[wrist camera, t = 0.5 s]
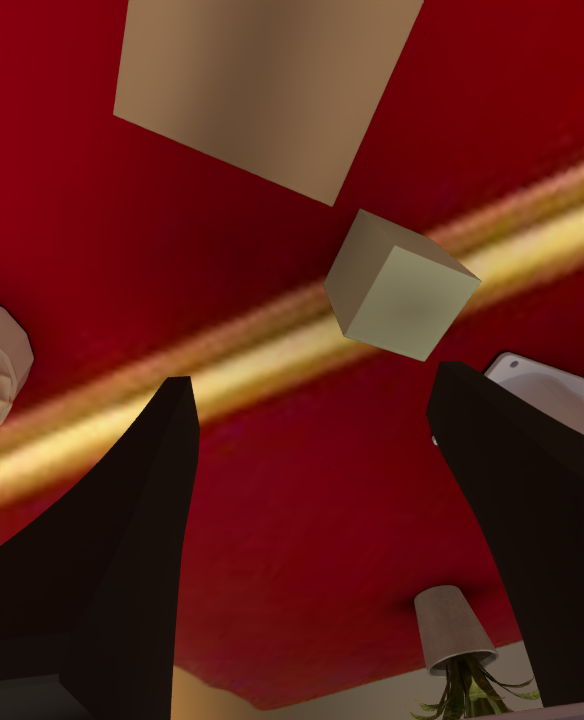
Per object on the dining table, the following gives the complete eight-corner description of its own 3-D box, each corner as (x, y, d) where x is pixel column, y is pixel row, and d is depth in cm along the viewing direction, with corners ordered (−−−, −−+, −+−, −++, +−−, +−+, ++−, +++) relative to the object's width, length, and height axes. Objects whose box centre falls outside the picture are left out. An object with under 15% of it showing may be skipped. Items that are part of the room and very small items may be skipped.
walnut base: (415, -42, 13) (454, -69, 11) (319, 189, 17) (332, 206, 15) (183, -201, 11) (167, -282, 9) (133, 109, 15) (113, 114, 13)
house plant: (480, 540, 37) (615, 797, 23) (527, 584, 44) (652, 802, 30) (356, 597, 41) (411, 843, 28) (417, 629, 48) (484, 837, 35)
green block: (430, 238, 19) (482, 281, 15) (389, 307, 21) (424, 361, 17) (359, 208, 18) (394, 245, 14) (322, 284, 20) (344, 336, 16)
